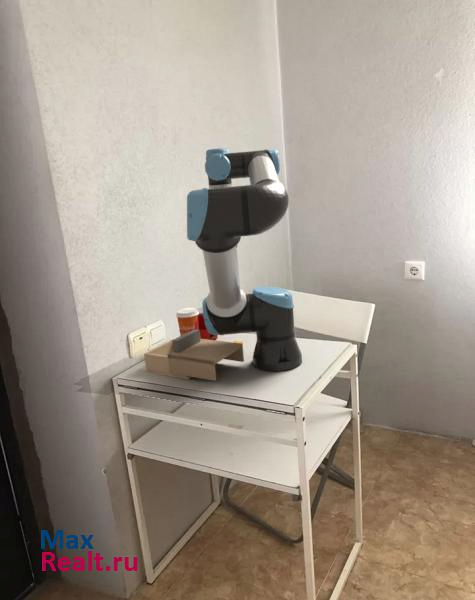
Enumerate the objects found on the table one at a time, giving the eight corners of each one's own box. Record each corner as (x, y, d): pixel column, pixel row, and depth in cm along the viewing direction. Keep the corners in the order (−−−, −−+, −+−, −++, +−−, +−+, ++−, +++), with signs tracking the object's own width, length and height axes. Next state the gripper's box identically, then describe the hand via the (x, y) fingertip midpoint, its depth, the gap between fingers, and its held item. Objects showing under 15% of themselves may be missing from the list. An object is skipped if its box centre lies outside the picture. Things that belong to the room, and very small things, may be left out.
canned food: (215, 342, 182) (212, 312, 179) (193, 342, 183) (190, 313, 181) (220, 335, 189) (217, 306, 186) (199, 335, 191) (196, 307, 188)
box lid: (243, 361, 157) (241, 331, 155) (215, 380, 144) (211, 348, 142) (200, 355, 166) (197, 327, 163) (169, 372, 153) (166, 342, 151)
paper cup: (176, 352, 174) (171, 313, 171) (186, 345, 181) (182, 307, 178) (196, 354, 171) (192, 314, 168) (206, 346, 178) (202, 307, 175)
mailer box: (214, 362, 162) (212, 344, 161) (187, 379, 151) (185, 359, 149) (174, 356, 171) (172, 339, 169) (146, 371, 159) (143, 353, 158)
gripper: (198, 200, 166) (205, 271, 172) (232, 198, 159) (238, 272, 165) (211, 198, 172) (218, 267, 178) (244, 196, 165) (250, 268, 171)
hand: (227, 269), depth 171 cm, fingers closed
